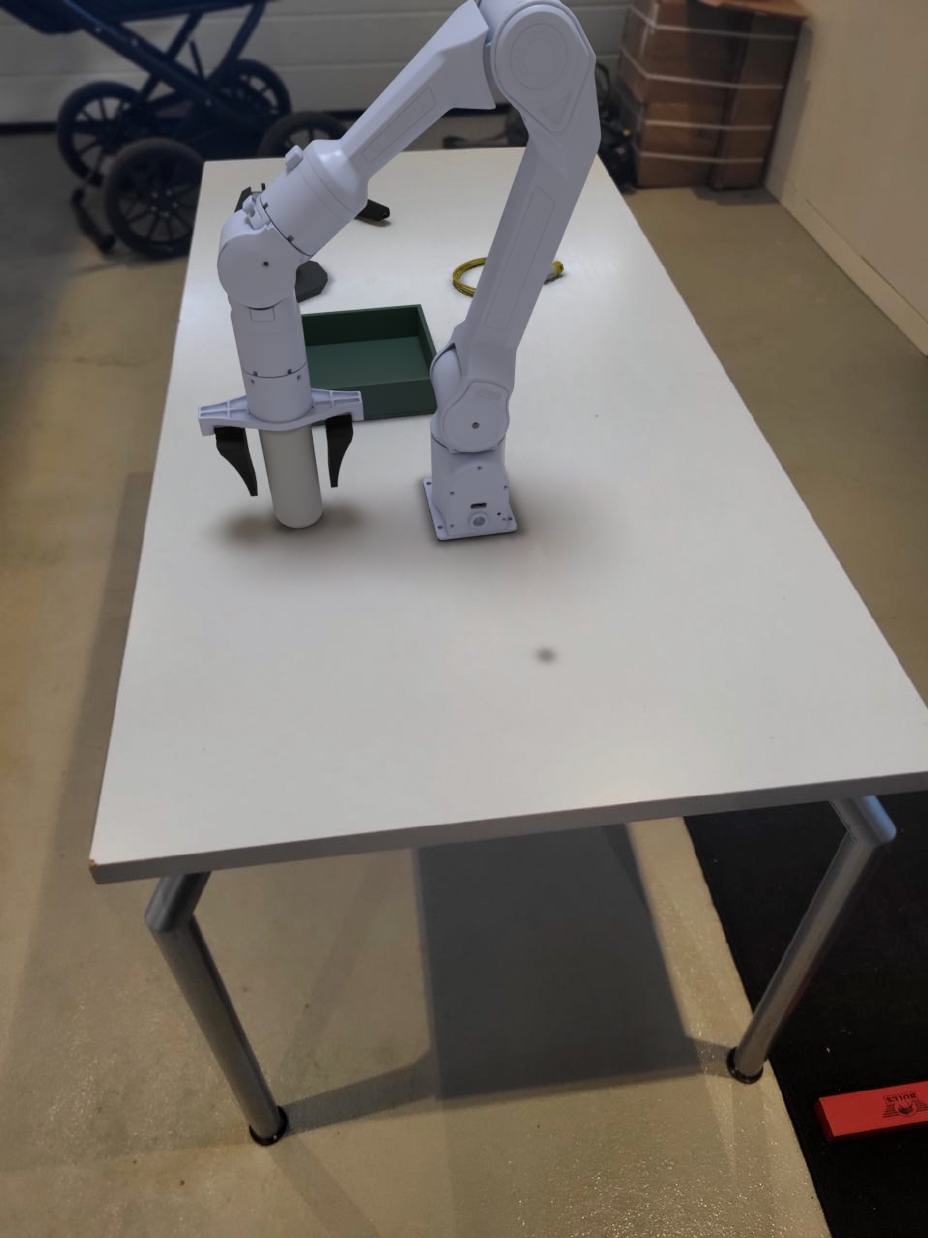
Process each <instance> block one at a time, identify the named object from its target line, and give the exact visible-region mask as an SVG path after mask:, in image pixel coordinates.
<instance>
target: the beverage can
mask: <svg viewBox="0 0 928 1238" xmlns="http://www.w3.org/2000/svg"><path fill="white" fill-rule="evenodd" d="M257 430H258V436H259V442H260V447H261V452H262V456H263V462H264V467H265V472H266V477H267V483H268V487H269V494H270V498H271V503H272V507H273V512H274V516H275V518H276V520H278V521H279V522H280V523H281V524H283V525H284V526H286V527H288V528H290V529H304V528H308V527H310V526H313V525H314V524H315V523H317V522H318V520H320V518H321V516H322V515H323V511H324V508H323V500H322V492H321V486H320V479H319V478H320V477H319V472H318V471H319V470H318V464H317V457H316V449H315V442H314V435H313V428H312V426H311V423H310V424H307V425H304V426H301V427H298V428H294V429H290V430H284V431H271V430H261V429H257Z"/></svg>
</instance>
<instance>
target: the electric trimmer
mask: <svg viewBox="0 0 928 1238" xmlns="http://www.w3.org/2000/svg"><path fill="white" fill-rule="evenodd" d="M390 216H391V209H390V208H389V206H386V205H384V204H381V203H379V202H376V201H374V200H372V199H370V198H368V201H367V205H366V207H365V208H364V209H363V210H362V211H360V212H359V213H358V214H357V215H356V216H355V217H359V218H363V219H367V220H370V221H376V222H381V221H384V220H386V219H388V218H389V217H390Z"/></svg>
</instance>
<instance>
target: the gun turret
mask: <svg viewBox="0 0 928 1238" xmlns="http://www.w3.org/2000/svg"><path fill="white" fill-rule="evenodd" d="M260 187H261V190H255V191H254V190H253V191H252V186H251V185H250V186H248V187H246V188H244V189H243V190H241V192H240V195H239V197H238V200H237V203H236V206H235V208H234V211H233V214H234V213H235V212H237V211H239V210H241V209H242V207H243V202H244V201H245V200H246V199H247V198H248V197H249V196H250V195H252V196H253V197H254V198H255V199H256V198H257V197H258V196H259V195H260V194H261V193H262V192H263V191H264V190H265V189H266V188H267V187H266V183H265V182H261V183H260ZM328 279H329V277H328V273H327V271H326V270H325V269H324V268H323V266H321V265H320V263H319V262H318V261H314V260H311V259H310V260H309V261H307V262H305V263H303V264H301V265H299V266H298V267H297V269H296V281H295V286H294V289H295V296H296V301H297V303H298V304H299V303H301V302H303V301H305V300H308V299H310V298H313V297H316V296H317V295H320V294H321V293H322V291H323V290H324V288H325V286H326V285H327V283H328V281H329V280H328Z"/></svg>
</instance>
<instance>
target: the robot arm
mask: <svg viewBox="0 0 928 1238" xmlns="http://www.w3.org/2000/svg"><path fill="white" fill-rule="evenodd" d="M596 63H597V56H596V53H595V52H594V50H593V47H592V46H591V43H590V42H589V40H588V37H587V36H586V34H585V31H584V30H583V28H582V25H581V24H580V22H579V20H578V18H577V17H576V15H575V14H574V13H573V11H572V10H571V9H570V8H569V7H568V6H566V5H565V4H563V3H562V2H561V0H476V1H475V0H466V1H465V2H463V3H462V4H461V5H460V6H458V7H457V9H455V11H454V12H453V13H452V14H451V15H450V16H449V17H448V18H447V20H446V21H445V22H444V23H443V24H442V25H441V26H440V28H438V30H437V31H436V32H435V33H434V34H433V35H432V37H431V38H430V39H429V40H428V41H427V42H426V43H425V45H424V46H423V47H422V48H421V49H420V50H419V51H418V52H417V53H416V55H415V56H414V57H413V58H412V59H411V60H410V61H409V62H408V63H407V64H406V66H405V67H404V68H403V69H402V70H401V71H400V72H399V73H398V74H397V75H396V77H395V78H394V79H393V80H392V81H391V82H390V83H389V85H387V87H386V88H385V89H384V90H383V91H382V92H381V94H379V96H378V97H376V99H374V101H373V102H372V103H371V105H370V106H368V108H367V109H366V110H365V111H364V112H363V114H362V115H360V117H359V118H357V120H356V121H355V122H354V123H353V124H352V126H350V127H349V129H347V131H346V132H345V134H344V135H343V136H342V137H341V138H339V139H314V140H312V141H311V142H310V143H309V144H308V145H307V146H306V147H305V148H304V149H303V150H302V148H301V147H300V146H299V145H297V144H295V145H294V146H292V147H291V148H290V150H289V151H288V152H287V153H286V154H285V155H284V156H285V157H284V165H285V166H286V167H285V169H284V170H283V171H282V172H281V173H280V174H278V176H277V177H276V178H275V179H274V180H273V181H272V182H270V184H269V185H268V186H267V187H266V189H265V190H264V191H263V192H262V193H261V194H260V195H259V196H258V197H257V198H256V199H255V198H254V197H253V196H252V195H250V196H249V197H248V198H247V199H246V200H245V201H244V202H243V207H242V209H241V210H239V211H237V212H235V213H234V212H233V213H232V214H230V216H229V217H228V218H227V219H226V220H225V222H224V224H223V225H222V228H221V232H220V237H219V238H220V239H219V244H218V245H219V246H218V254H217V261H216V269H217V276H218V280H219V282H220V286H221V287H222V289H223V290H224V292H225V293H226V295H227V300H228V304H229V305H230V309H231V310H230V322H231V326H232V332H233V336H234V342H235V347H236V351H237V352H236V353H237V357H238V363H239V366H240V372H241V376H242V383H243V387H244V391H245V394H244V395H240V396H238V397H234V398H230V399H226V400H223V401H221V402H216V403H212V404H207V405H199V406H198V407H197V409H198V410H197V413H198V415H197V419H198V420H197V421H198V423H199V428H200V432H201V436H202V437H210V436H214V437H215V447H216V449H217V451H218V454H219V455H220V456H221V457H223V459H225V460H226V461H227V462H228V463H229V464H230V465H231V466H232V468H234V469H235V471H236V472H237V473H238V475H239V476H240V478H241V480H242V481H243V483H244V485H245V486H246V489H247V491H248V493H249V496H250V497H251V498H252V497H259V490H258V488H259V487H258V479H257V473H256V470H255V466H254V462H253V459H252V456H251V452H250V447H249V441H248V436H247V430H246V429H251V430H252V429H253V430H254V429H255V430H258V429H261V430H271V431H284V430H290V429H294V428H298V427H301V426H304V425H307V424H310V423H314V422H317V421H320V420H324V422H325V424H324V430H325V436H326V446H327V449H326V450H327V469H328V476H329V483H330V484H329V485H330V489H334V488H338V487H339V476H340V470H341V466H342V463H343V461H344V457H345V455H346V452H347V451H348V448H349V446H350V445H351V443H352V441H353V438H354V427H353V426H354V425H353V422H360V421H365V420H364V415H363V404H362V398H361V393H360V391H352V392H345V391H333V390H323V389H313V388H311V385H310V378H309V370H308V363H307V356H306V348H305V341H304V333H303V326H302V318H301V314H302V311H301V308H300V307H301V306H300V305H299V303H297V301H296V296H295V289H294V286H295V281H296V269H297V267H298V266H299V265H301V264H303V263H305V262H307V261H309V260H311V259H312V258H313V257H314V256H315V255H317V253H319V252H320V251H321V250H322V249H323V248H324V247H325V246H326V245H327V244H328V243H329V242H331V240H333V238H335V236H336V235H338V234H339V233H340V232H341V231H342V230H343V229H345V227H346V226H347V225H348V224H349V223H350V222H351V221H352V220H354V219H355V218H356V217H357V216H356V215H357V214H358V213H359V212H360V211H362V210H363V209H364V208H365V207H366V205H367V201H368V199H369V182H370V179H371V178H372V177H373V176H375V175H376V174H377V173H378V172H380V170H381V169H383V168H384V167H386V165H387V164H389V163H390V162H391V161H392V160H393V159H394V158H395V157H397V156H399V154H400V153H401V152H403V150H405V149H406V148H407V147H408V146H409V145H410V144H412V142H414V141H415V140H417V138H419V137H420V136H421V135H422V134H423V133H424V132H426V131H427V129H429V128H430V127H431V126H432V125H433V124H435V123H436V122H437V121H438V120H439V119H441V117H442V116H444V115H445V114H447V112H449V111H450V110H452V109H456V108H457V109H476V110H493V109H496V107H497V106H496V103H495V99H494V97H493V95H492V90H495V89H498V91H500V93H501V94H502V95H503V97H505V99H506V100H507V101H508V102H509V103H510V104H511V105H512V107H514V108H515V109H516V110H517V111H518V113H519V115H520V117H521V119H522V121H523V124H524V126H525V128H526V130H527V133H528V140H527V143H526V146H525V149H524V151H523V154H522V157H521V160H520V163H519V166H518V168H517V171H516V174H515V177H514V180H513V183H512V185H511V189H510V191H509V194H508V197H507V200H506V202H505V205H504V207H503V211H502V214H501V217H500V219H499V223H498V225H497V228H496V231H495V234H494V237H493V240H492V242H491V245H490V248H489V251H488V253H487V256H486V257H487V259H486V262H485V263H484V265H483V268H482V271H481V274H480V276H479V279H478V281H477V285H476V287H475V288H476V290H475V293H474V295H472V298H471V302H470V305H469V307H468V311H467V313H466V316H465V319H464V320H462V321H461V322H459V323H458V324H456V325H455V326H454V327H453V330H452V333H451V336H450V338H449V340H448V341H447V343H446V345H444V347H442V348H441V349H440V350H439V351H438V352H437V355H436V356H435V357H434V359H433V361H432V364H431V367H430V379H431V383H432V385H433V388H434V391H435V396H436V401H437V406H438V408H437V410H436V412H435V413H433V416H432V417H431V420H430V425H429V426H430V427H429V428H430V429H429V430H430V465H431V466H430V467H431V471H430V472H431V477H425V478H424V479H423V480H422V484H423V488H424V491H425V495H426V498H427V504H428V507H429V511H430V515H431V519H432V523H433V527H434V531H435V535H436V538H437V539H438V540H440V541H446V540H453V539H460V538H461V539H462V538H470V537H479V536H486V535H494V534H503V533H510V532H515V531H516V530H518V525H517V522H516V519H515V516H514V513H513V511H512V508H511V505H510V488H511V486H510V485H511V483H510V477H509V475H508V472H507V469H506V465H505V458H506V442H507V441H506V437H507V432H508V430H509V428H510V423H511V416H510V409H509V408H510V407H509V406H510V400H511V398H512V396H513V395H512V394H513V392H514V389H515V383H516V382H515V381H516V366H517V365H516V363H517V351H518V349H519V346H520V343H521V341H522V339H523V336H524V333H525V331H526V329H527V327H528V324H529V322H530V319H531V317H532V314H533V311H534V309H535V306H536V304H537V302H538V300H539V297H540V294H541V292H542V290H543V287H544V285H545V282H546V281H547V280H546V277H547V275H548V272H549V270H550V267H551V265H552V263H554V260H555V258H556V255H557V253H558V250H559V247H560V245H561V242H562V240H563V238H564V235H565V233H566V230H567V228H568V225H569V223H570V221H571V218H572V215H573V213H574V210H575V208H576V205H577V203H578V200H579V198H580V196H581V193H582V190H583V188H584V186H585V184H586V181H587V178H588V176H589V174H590V172H591V169H592V166H593V164H594V161H595V159H596V156H597V154H598V152H599V149H600V145H601V140H602V129H601V121H600V112H599V103H598V95H597V86H596V78H595V77H596V76H595V70H596ZM352 420H353V421H352Z"/></svg>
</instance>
